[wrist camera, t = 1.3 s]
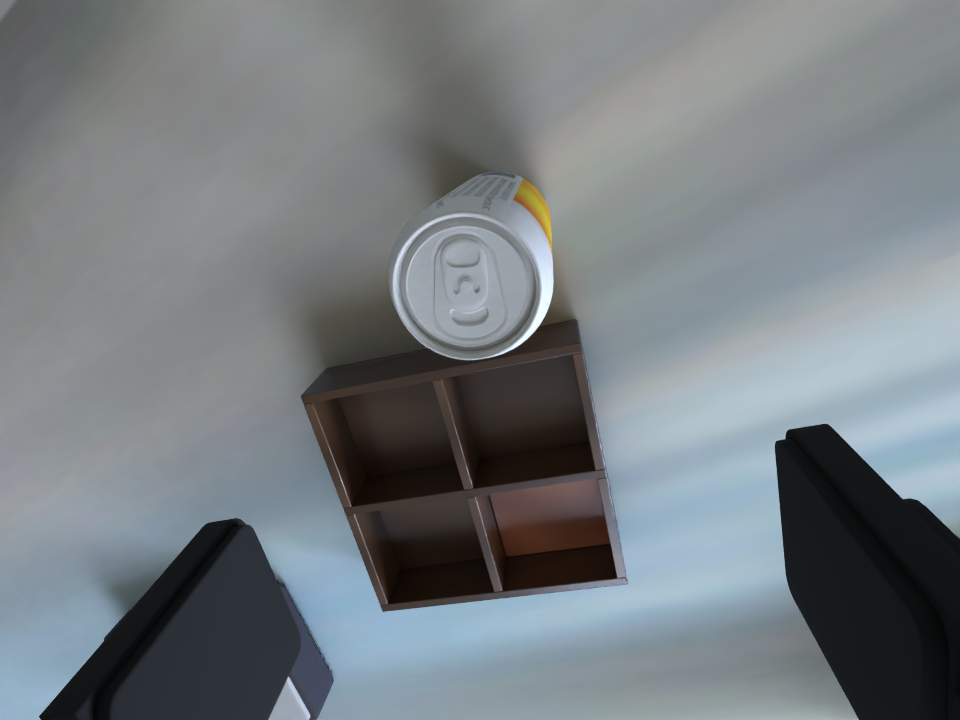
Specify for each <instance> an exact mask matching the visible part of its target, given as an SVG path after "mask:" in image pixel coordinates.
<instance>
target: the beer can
mask: <svg viewBox="0 0 960 720" xmlns="http://www.w3.org/2000/svg"><path fill="white" fill-rule="evenodd" d="M388 280H389V289H390V294H391V297H392V301H393V304H394V306H395V309H396V311H397V313H398V315H399V317H400V318H401V320H402V322H403V324H404V325H405V327H406V328H407V330H408V331H409V332H410V333H411V334H412V335H413V336H414V337H415V338H416V339H417V340H418V341H419V342H420V343H422V344H423V345H424V346H426V347H427V348H429V349H431V350H432V351H434V352H436V353H438V354H441V355H444V356H447V357H450V358H454V359H461V360H478V359H484V358H490V357H494V356H498V355H501V354H504V353H506V352H508V351H510V350H512V349H514V348H516V347H517V346H519V345H520V344H522V343H523V342H524V341H525V340H527V339H528V338H529V337H530V336H531V335H532V334H533V333H534V332H535V330H536V329H537V328H538V327H539V325H540V324H541V322H542V320H543V319H544V317H545V315H546V313H547V310H548V308H549V305H550V302H551V298H552V293H553V282H554V279H553V257H552V236H551V218H550V213H549V209H548V206H547V204H546V201H545V200H544V198H543V196H542V195H541V193H540V192H539V191H538V189H537V188H536V187H535V186H534V185H533V184H531V183H530V182H529V181H528V180H526V179H524V178H523V177H521V176H519V175H516V174H513V173H509V172H503V171H492V172H486V173H482V174H479V175H477V176H475V177H473V178H471V179H469V180H468V181H466V182H465V183H463V184H462V185H460V186H458V187H457V188H455V189H454V190H452V191H451V192H449V193H448V194H446V195H445V196H443V197H441V198H440V199H438V200H437V201H435V202H434V203H432V204H431V205H429V206H428V207H426V208H424V209H423V210H422V211H420V212H419V213H418V214H416V215H415V216H414V217H413V218H412V219H411V220H410V221H409V222H408V223H407V224H406V226H405V227H404V228H403V230H402V231H401V233H400V234H399V236H398V238H397V240H396V242H395V244H394V246H393V250H392V253H391V256H390V261H389V270H388Z"/></svg>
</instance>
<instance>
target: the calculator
mask: <svg viewBox="0 0 960 720" xmlns="http://www.w3.org/2000/svg"><path fill="white" fill-rule="evenodd" d="M278 585H279V587H280V589H281V591H282V593H283V596H284V598H285V600H286V602H287V605H288V607H289V609H290V611H291V614H292V616H293V618H294V620H295V622H296V625H297V627H298V629H299V632H300V635H301V648H300V652H299V655H298V657H297V659H296V662H295V664H294V666H293V668H292V670H291V672H290V674H289V677H288V679H287V681H286V683H285V685H284V687H283V689H282V692H281V694H280V696H279V698H278V700H277V702H276V704H275V707H274V709H273V711H272V713H271V715H270V717H269V719H268V720H316V719H317V718H318V716H319V714H320V712H321V709H322V707H323V705H324V703H325V700H326V698H327V696H328V693H329V691H330V689H331V686H332V684H333V681H334V679H333V677H332V675H331V673H330V671H329V669H328V667H327V666H326V664H325V662H324V660H323V658H322V656H321V654H320V652H319V651H318V649H317V647H316V645H315V643H314V641H313V639H312V637H311V636H310V634H309V632H308V630H307V628H306V626H305V624H304V622H303V621H302V619H301V617H300V615H299V613H298V611H297V609H296V608H295V606H294V604H293V602H292V600H291V598H290V596H289V594H288V593H287V591H286V589H285V587H284V586H283V584H281V583H278ZM130 611H131V610H130ZM130 611H128V612H127V613H126V615H127V614H128V613H129V612H130ZM126 615H125V616H126ZM125 616H124V617H123V618H122V619H121V620H120V621H119V622H118V623H117V624H116V625H115V627H114V628H113V629H112V630H111V631H110V632H109V633H108V634H107V635H106V637H105V638H104V641H105V640H106V639H107V637H108V636H109V635H110V634H111V633H112V632H113V630H114V629H115V628H116V627H117V626H118V625H119V623H120V622H121V621H122V620H123V619H124V618H125Z"/></svg>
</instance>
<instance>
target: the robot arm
mask: <svg viewBox="0 0 960 720" xmlns="http://www.w3.org/2000/svg"><path fill="white" fill-rule="evenodd" d="M775 455H776V466H777V478H778V489H779V501H780V512H781V524H782V535H783V547H784V558H785V570H786V578H787V582H788V585H789V589H790V591H791V594H792V596H793V598H794V600H795V602H796V604H797V606H798V608H799V610H800V612H801V613H802V615H803V617H804V619H805V621H806V623H807V624H808V626H809V628H810V630H811V632H812V634H813V636H814V637H815V639H816V641H817V643H818V645H819V647H820V648H821V650H822V652H823V654H824V656H825V658H826V660H827V661H828V663H829V665H830V667H831V669H832V671H833V672H834V674H835V676H836V678H837V680H838V682H839V684H840V685H841V687H842V689H843V691H844V693H845V695H846V697H847V698H848V700H849V702H850V704H851V706H852V708H853V709H854V711H855V713H856V715H857V717H858V719H859V720H960V539H959V538H958V537H957V536H956V535H955V534H954V533H953V532H952V531H951V530H950V529H948V528H947V527H946V526H945V525H944V524H943V523H942V522H941V521H940V520H939V519H938V518H937V517H936V516H935V515H934V514H933V513H932V512H931V511H930V510H929V509H928V508H927V507H926V506H924V505H923V504H922V503H920V502H919V501H918V500H914V499H902V498H901V497H900V496H899V495H898V494H897V493H896V492H895V491H894V490H893V489H892V488H891V487H890V486H889V485H888V484H887V483H886V482H885V481H884V480H883V479H882V478H881V477H880V476H879V475H878V474H877V473H876V472H875V471H874V470H873V469H872V468H871V467H870V466H869V465H868V464H867V463H866V462H865V461H864V460H863V459H862V458H861V457H860V456H859V455H858V454H857V453H856V452H855V451H854V450H853V449H852V448H851V447H850V446H849V444H848V443H847V442H846V441H845V440H844V439H843V438H842V437H841V436H840V435H839V434H838V433H837V432H836V431H835V430H834V429H833V428H832V427H831V426H829V425H828V424H821V425H815V426H809V427H802V428H796V429H790V430H788V431H787V432H786V439H785V440H779V441H776V443H775ZM300 648H301V635H300V632H299V629H298V627H297V625H296V622H295V620H294V618H293V616H292V614H291V611H290V609H289V607H288V605H287V602H286V600H285V598H284V596H283V593H282V591H281V589H280V587H279V585H278V582H277V580H276V578H275V576H274V573H273V571H272V569H271V567H270V564H269V562H268V560H267V558H266V556H265V553H264V551H263V549H262V547H261V544H260V542H259V540H258V538H257V535H256V533H255V531H254V529H253V528H252V527H251V526H250V525H246V524H245V523H244V522H243V521H242V520H241V519H237V518H235V519H229V520H223V521H216V522H211V523H207V524H206V525H205V526H203V527H202V528H201V530H200V531H199V532H198V533H197V534H196V535H195V537H194V538H193V539H192V540H191V541H190V542H189V544H188V545H187V546H186V547H185V548H184V549H183V550H182V552H181V553H180V554H179V555H178V556H177V557H176V559H175V560H174V561H173V562H172V563H171V564H170V566H169V567H168V568H167V569H166V570H165V571H164V572H163V574H162V575H161V576H160V577H159V578H158V579H157V581H156V582H155V583H154V584H153V585H152V586H151V588H150V589H149V590H148V591H147V592H146V593H145V594H144V596H143V597H142V598H141V599H140V600H139V601H138V603H137V604H136V605H135V606H134V607H133V608H132V610H131V611H130V612H129V613H128V614H127V615H126V616H125V618H124V619H123V620H122V621H121V622H120V623H119V625H118V626H117V627H116V628H115V629H114V630H113V632H112V633H111V634H110V635H109V636H108V637H107V639H106V640H105V641H104V642H103V643H102V644H101V645H100V647H99V648H98V649H97V650H96V651H95V652H94V654H93V655H92V656H91V657H90V658H89V659H88V661H87V662H86V663H85V664H84V665H83V666H82V667H81V669H80V670H79V671H78V672H77V673H76V674H75V676H74V677H73V678H72V679H71V680H70V681H69V683H68V684H67V685H66V686H65V687H64V688H63V689H62V691H61V692H60V693H59V694H58V695H57V696H56V698H55V699H54V700H53V701H52V702H51V703H50V705H49V706H48V707H47V708H46V709H45V710H44V711H43V713H42V714H41V715H40V716H39V717H40V719H41V720H268V719H269V717H270V715H271V713H272V711H273V709H274V707H275V704H276V702H277V700H278V698H279V696H280V694H281V692H282V689H283V687H284V685H285V683H286V681H287V679H288V677H289V674H290V672H291V670H292V668H293V666H294V664H295V662H296V659H297V657H298V655H299V652H300Z"/></svg>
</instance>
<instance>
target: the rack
mask: <svg viewBox="0 0 960 720" xmlns="http://www.w3.org/2000/svg"><path fill="white" fill-rule="evenodd" d="M301 398H302V401H303V404H304V406H305V409H306V412H307V414H308V417H309V420H310V422H311V425H312V427H313V430H314V433H315V435H316V438H317V441H318V443H319V446H320V448H321V451H322V454H323V456H324V459H325V462H326V464H327V467H328V469H329V472H330V475H331V477H332V480H333V482H334V485H335V488H336V490H337V493H338V496H339V498H340V501H341V503H342V506H343V508H344V511H345V514H346V515H347V519H348V522H349V524H350V527H351V530H352V532H353V535H354V537H355V540H356V543H357V545H358V548H359V551H360V553H361V556H362V558H363V561H364V564H365V566H366V569H367V571H368V574H369V577H370V579H371V582H372V585H373V587H374V590H375V592H376V595H377V598H378V600H379V603H380V605H381V608H382V611H383V612H385V611H394V610H403V609H411V608H420V607H429V606H438V605H447V604H456V603H465V602H474V601H483V600H491V599H500V598H509V597H518V596H527V595H536V594H545V593H554V592H563V591H571V590H580V589H589V588H598V587H607V586H616V585H625V584H628V582H627V576H626V570H625V565H624V559H623V554H622V548H621V542H620V537H619V532H618V527H617V522H616V517H615V511H614V506H613V501H612V496H611V491H610V486H609V481H608V475H607V470H606V465H605V460H604V455H603V450H602V445H601V440H600V434H599V429H598V424H597V419H596V414H595V409H594V404H593V398H592V393H591V388H590V383H589V378H588V373H587V368H586V362H585V357H584V352H583V347H582V342H581V337H580V332H579V327H578V321H577V320H571V321H565V322H560V323H555V324H550V325H545V326H540V327H538V328H537V329H536V330H535V332H534V333H533V334H532V335H531V336H530V337H529V338H528V339H527V340H525V341H524V342H523V343H522V344H520V345H519V346H517V347H516V348H514V349H512V350H510V351H508V352H506V353H504V354H501V355H498V356H494V357H490V358H484V359H478V360H461V359H454V358H450V357H447V356H444V355H441V354H438V353H436V352H434V351H432V350H431V349H424V350H419V351H414V352H409V353H404V354H399V355H394V356H389V357H384V358H379V359H373V360H368V361H363V362H358V363H353V364H348V365H343V366H338V367H333V368H328V369H325V370H324V371H323V372H322V374H321V375H320V376H319V377H318V378H317V379H316V380H315V381H314V382H313V383H312V384H311V385H310V386H309V388H308V389H307V390H306V391H305V392H304V393H303V394H302V395H301Z"/></svg>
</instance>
